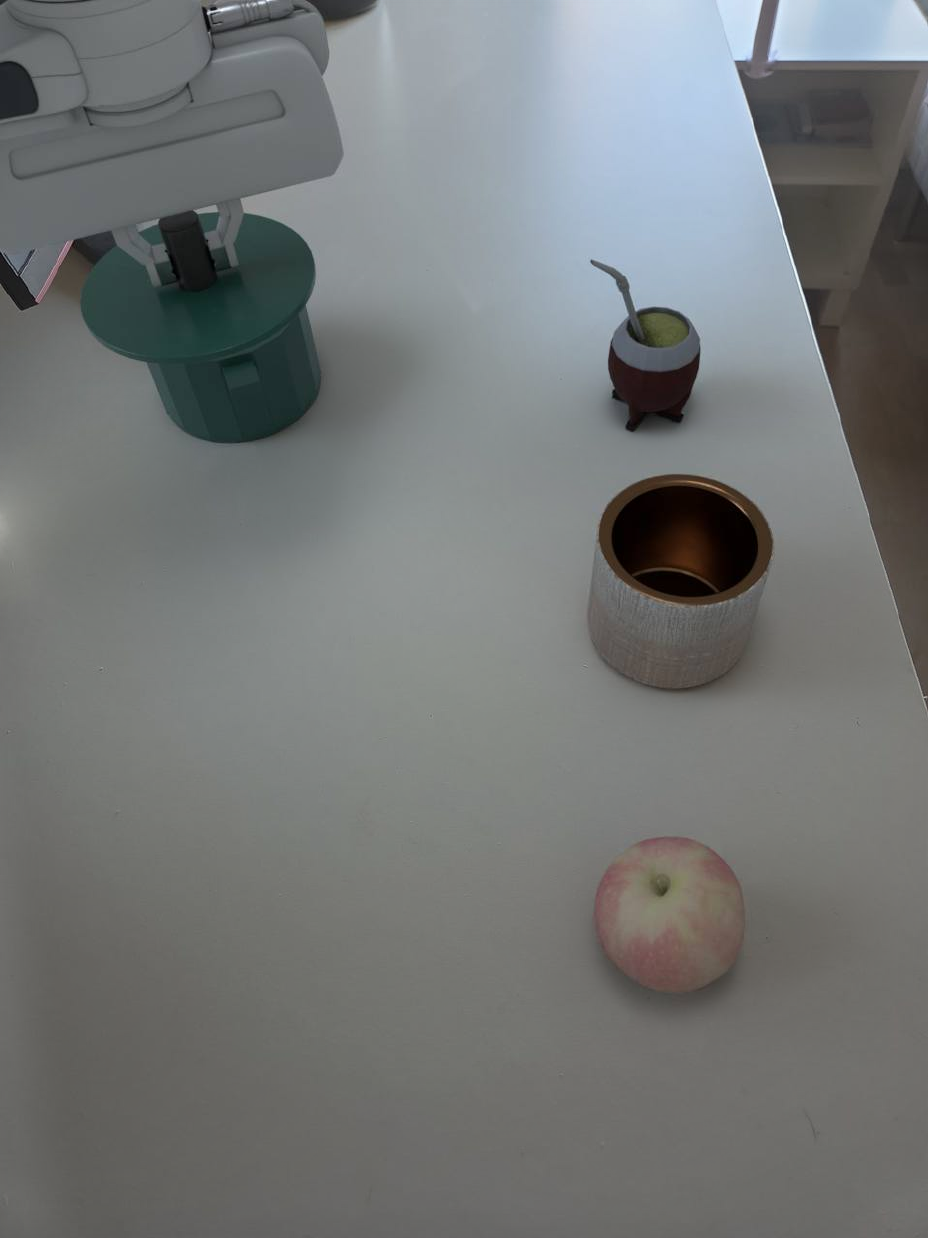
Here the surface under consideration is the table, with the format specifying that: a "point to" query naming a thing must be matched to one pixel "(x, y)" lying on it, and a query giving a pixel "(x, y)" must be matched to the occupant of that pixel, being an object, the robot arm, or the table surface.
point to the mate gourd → (652, 358)
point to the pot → (244, 387)
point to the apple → (670, 914)
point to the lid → (199, 292)
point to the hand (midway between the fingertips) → (194, 271)
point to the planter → (677, 579)
